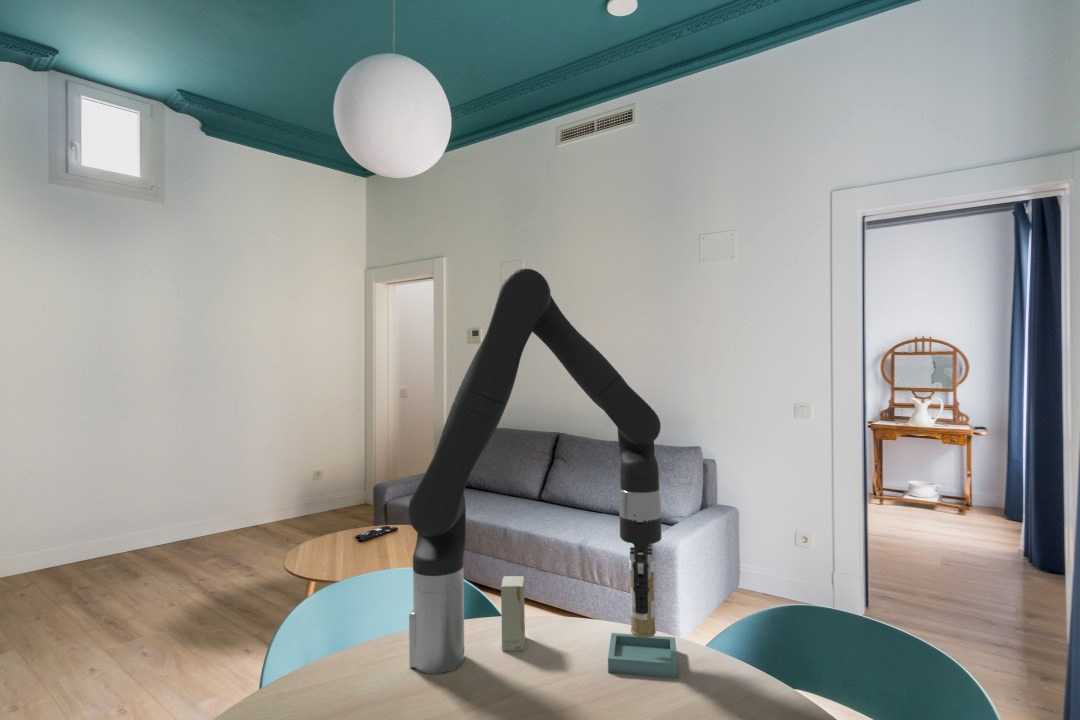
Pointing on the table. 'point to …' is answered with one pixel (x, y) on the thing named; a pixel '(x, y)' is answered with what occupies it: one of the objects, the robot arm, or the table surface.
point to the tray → (643, 655)
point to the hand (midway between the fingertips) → (641, 606)
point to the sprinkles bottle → (643, 622)
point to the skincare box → (513, 613)
